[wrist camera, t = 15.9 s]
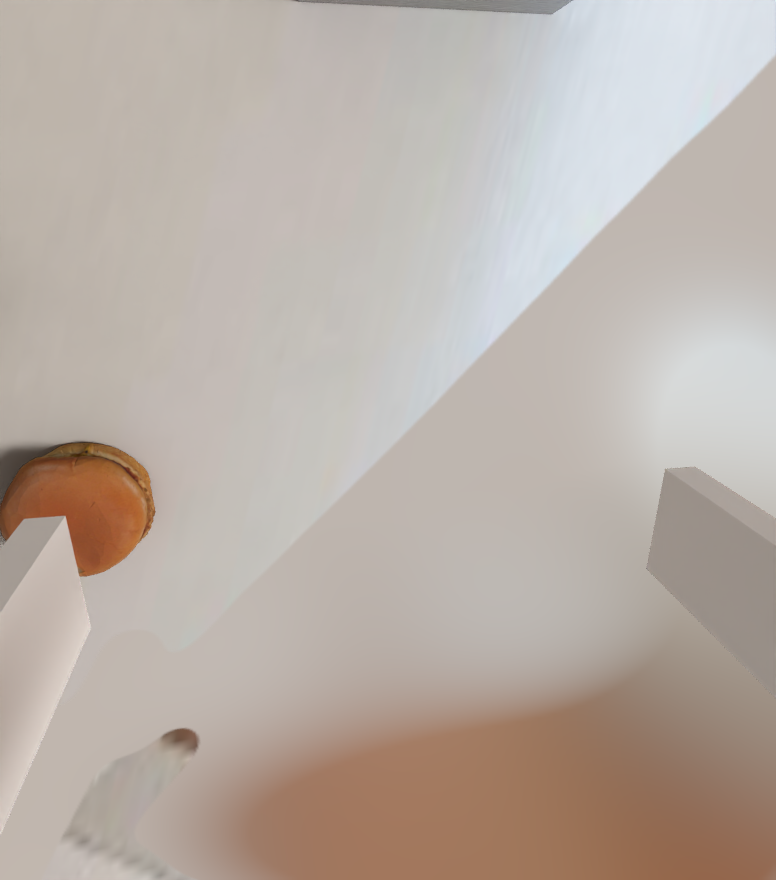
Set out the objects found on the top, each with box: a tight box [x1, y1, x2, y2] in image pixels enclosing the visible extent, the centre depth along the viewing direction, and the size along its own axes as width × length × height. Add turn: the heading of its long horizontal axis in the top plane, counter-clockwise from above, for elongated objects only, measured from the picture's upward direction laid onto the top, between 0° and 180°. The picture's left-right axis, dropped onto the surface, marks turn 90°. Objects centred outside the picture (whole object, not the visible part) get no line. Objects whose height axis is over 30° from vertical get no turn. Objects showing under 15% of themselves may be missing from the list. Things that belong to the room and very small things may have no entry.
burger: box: [0, 443, 156, 576], centre depth 43 cm, size 10×9×5 cm
